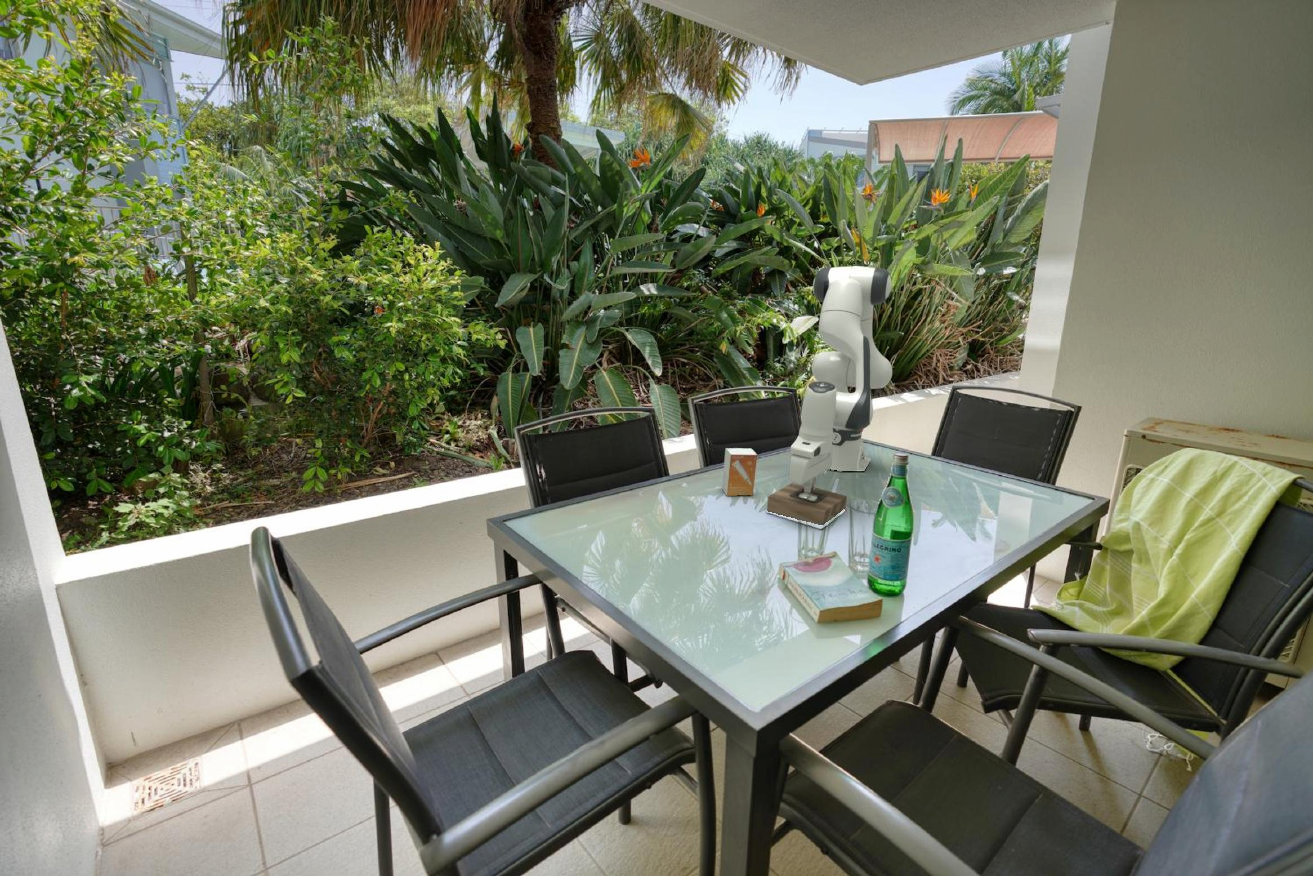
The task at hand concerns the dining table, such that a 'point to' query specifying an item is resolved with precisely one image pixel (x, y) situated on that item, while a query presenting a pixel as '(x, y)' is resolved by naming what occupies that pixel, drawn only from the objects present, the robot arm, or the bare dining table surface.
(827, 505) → the socket block
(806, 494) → the peg
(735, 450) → the small box
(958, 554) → the dining table surface
